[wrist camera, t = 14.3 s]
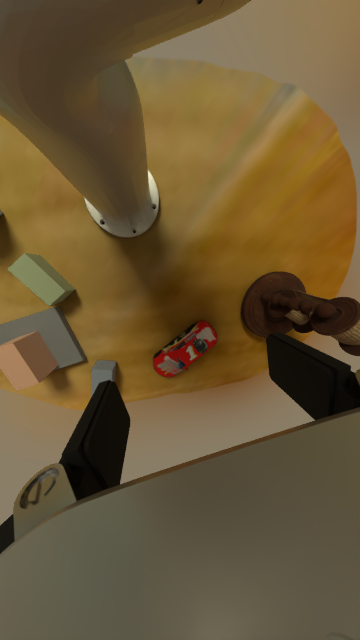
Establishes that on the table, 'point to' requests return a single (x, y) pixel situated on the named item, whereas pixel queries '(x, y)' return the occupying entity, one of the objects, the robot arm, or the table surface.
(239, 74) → the table surface
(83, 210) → the table surface
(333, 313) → the brown tall round-based stand
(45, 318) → the charcoal mat
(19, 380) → the terracotta brick
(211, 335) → the race car
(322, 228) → the table surface
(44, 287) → the olive brick
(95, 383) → the slate brick
